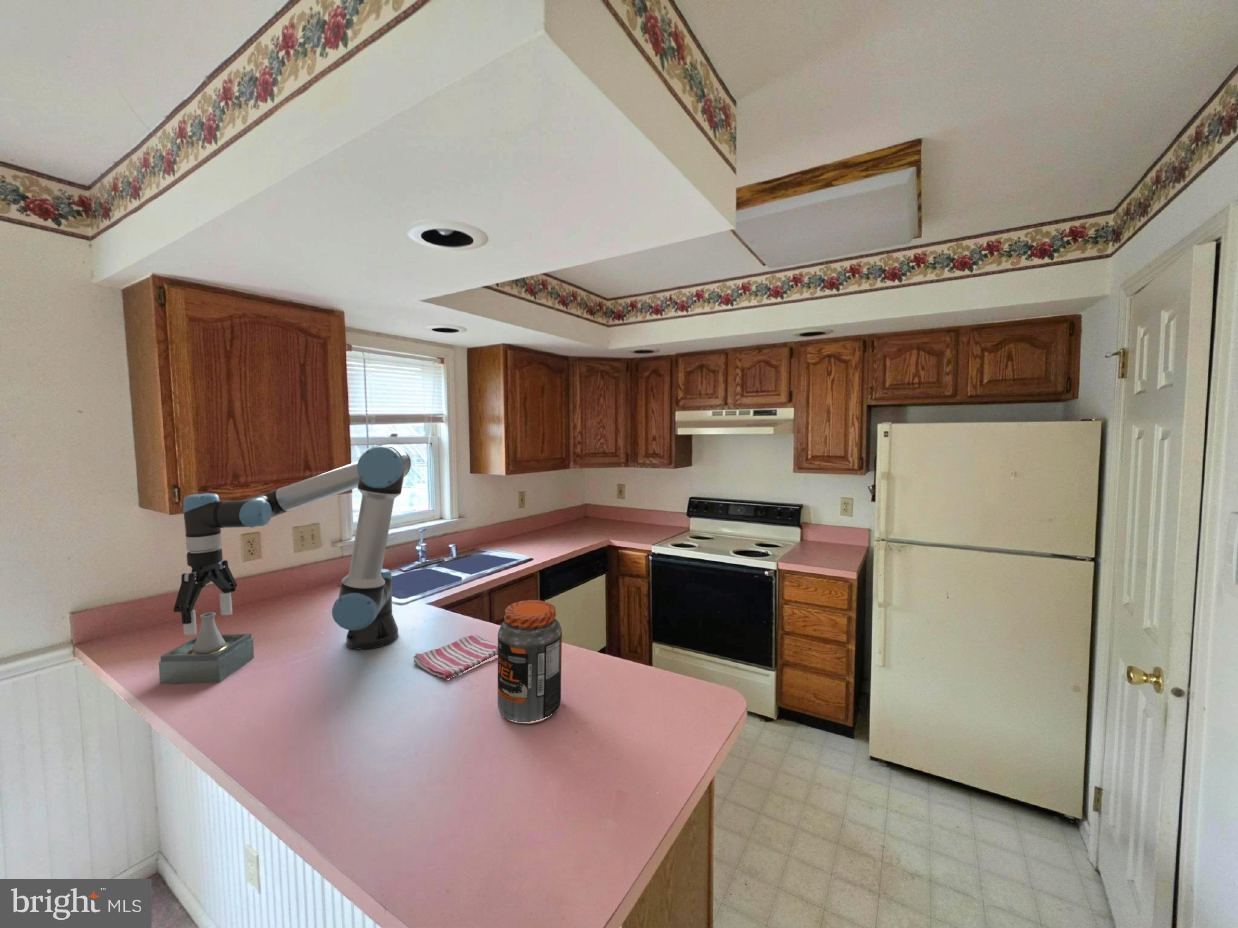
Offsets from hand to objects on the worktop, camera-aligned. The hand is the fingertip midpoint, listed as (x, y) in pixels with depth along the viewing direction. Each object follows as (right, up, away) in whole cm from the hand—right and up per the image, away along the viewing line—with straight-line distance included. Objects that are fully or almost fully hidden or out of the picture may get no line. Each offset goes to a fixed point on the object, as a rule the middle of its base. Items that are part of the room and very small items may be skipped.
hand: (209, 624), depth 137 cm
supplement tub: (+93, -17, -14) cm, 95 cm away
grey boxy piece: (-1, -13, +1) cm, 13 cm away
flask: (0, -7, 0) cm, 7 cm away
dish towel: (+67, -15, +11) cm, 70 cm away
